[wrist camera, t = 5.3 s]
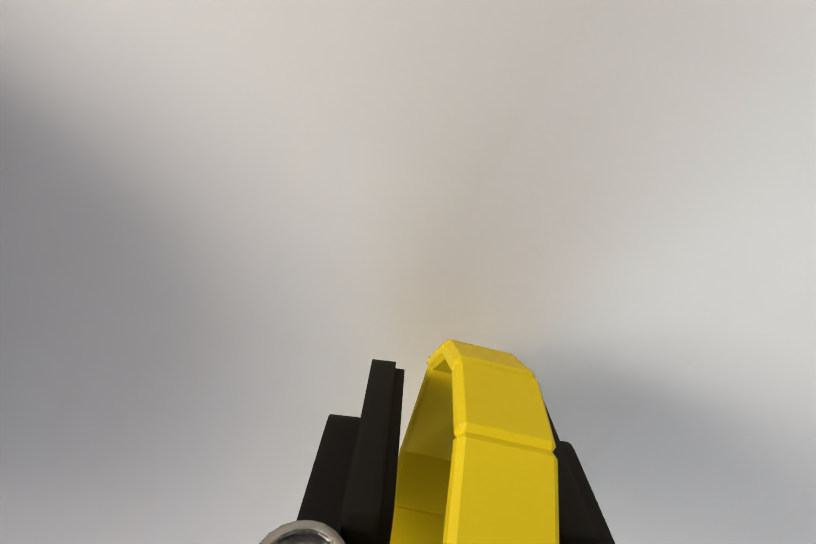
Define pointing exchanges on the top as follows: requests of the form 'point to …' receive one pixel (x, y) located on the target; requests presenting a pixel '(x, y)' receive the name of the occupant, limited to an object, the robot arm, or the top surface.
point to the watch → (477, 455)
